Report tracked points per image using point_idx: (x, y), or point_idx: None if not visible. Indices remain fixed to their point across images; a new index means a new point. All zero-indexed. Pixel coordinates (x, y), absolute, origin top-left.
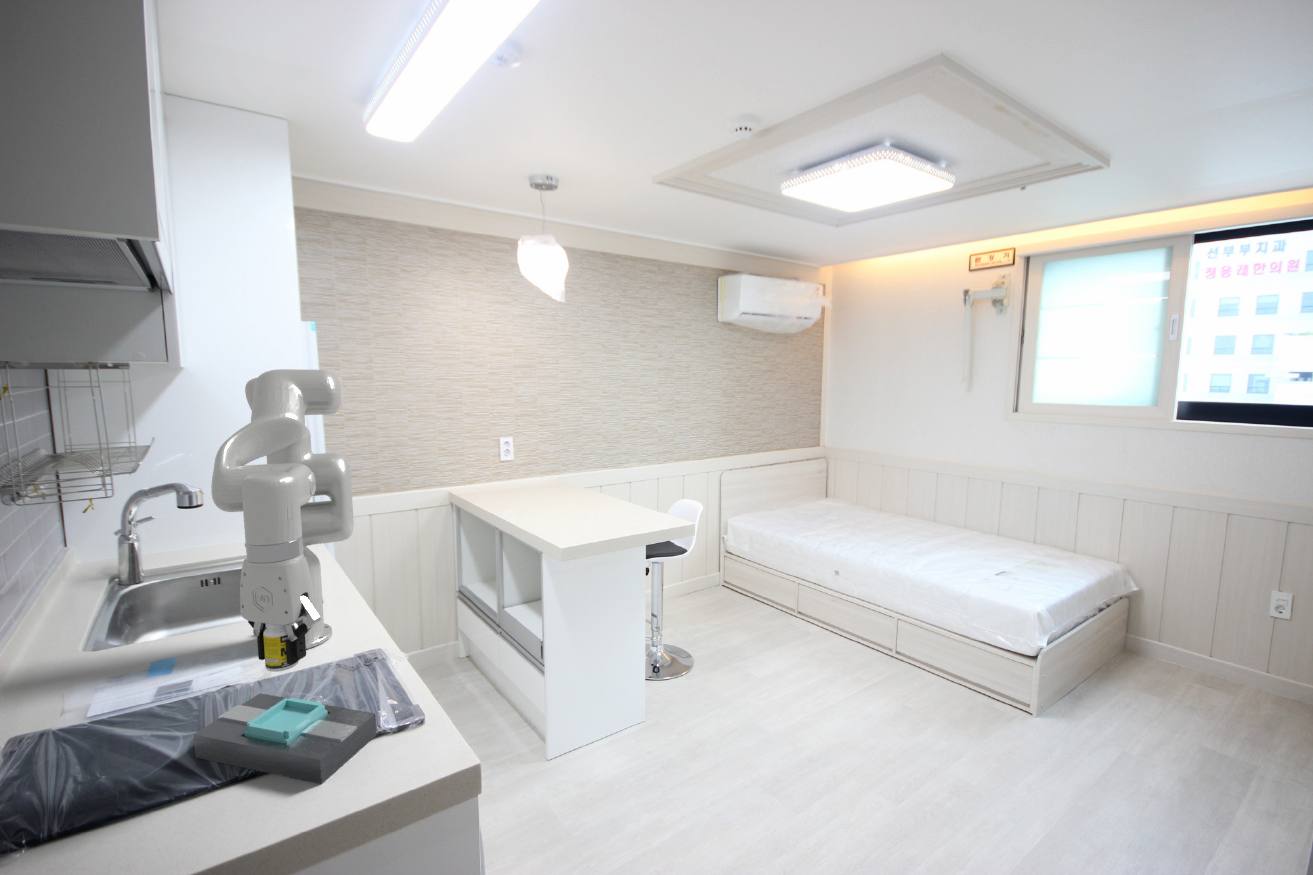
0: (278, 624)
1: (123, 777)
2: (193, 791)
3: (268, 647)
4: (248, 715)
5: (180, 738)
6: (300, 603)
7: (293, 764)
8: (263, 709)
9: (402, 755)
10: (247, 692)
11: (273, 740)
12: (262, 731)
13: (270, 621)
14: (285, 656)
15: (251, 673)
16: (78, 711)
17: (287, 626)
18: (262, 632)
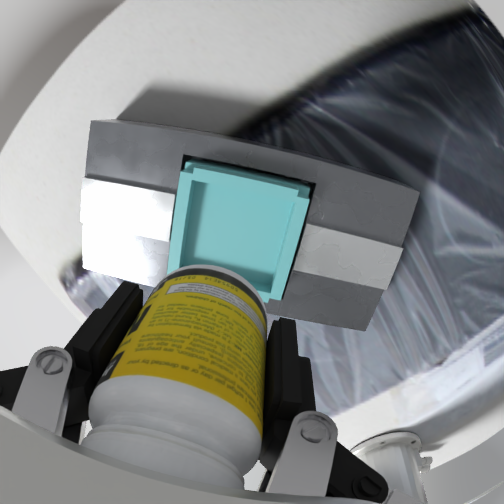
0: (5, 416)
1: (472, 137)
2: (338, 86)
3: (194, 332)
4: (341, 252)
5: (451, 236)
6: None
7: (159, 126)
8: (321, 275)
9: (43, 202)
10: (407, 355)
11: (225, 168)
12: (255, 178)
13: (62, 464)
14: (142, 309)
15: (419, 392)
16: None
17: (37, 419)
18: (285, 432)
